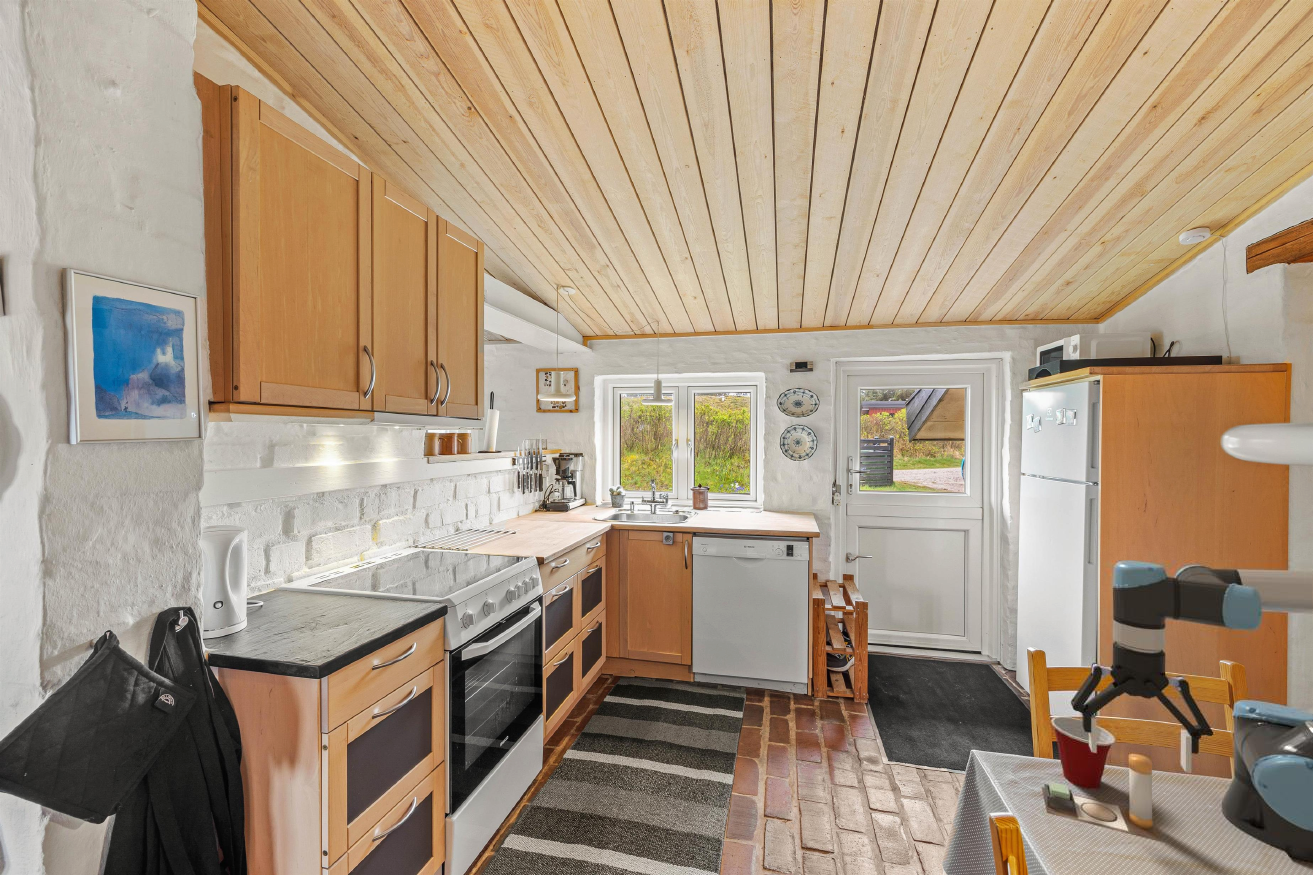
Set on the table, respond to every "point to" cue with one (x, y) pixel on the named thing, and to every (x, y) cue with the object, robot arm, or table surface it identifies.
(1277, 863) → the table surface
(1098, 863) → the table surface
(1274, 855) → the table surface
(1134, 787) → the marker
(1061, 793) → the button
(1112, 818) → the board
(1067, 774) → the plastic cup
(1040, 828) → the table surface
